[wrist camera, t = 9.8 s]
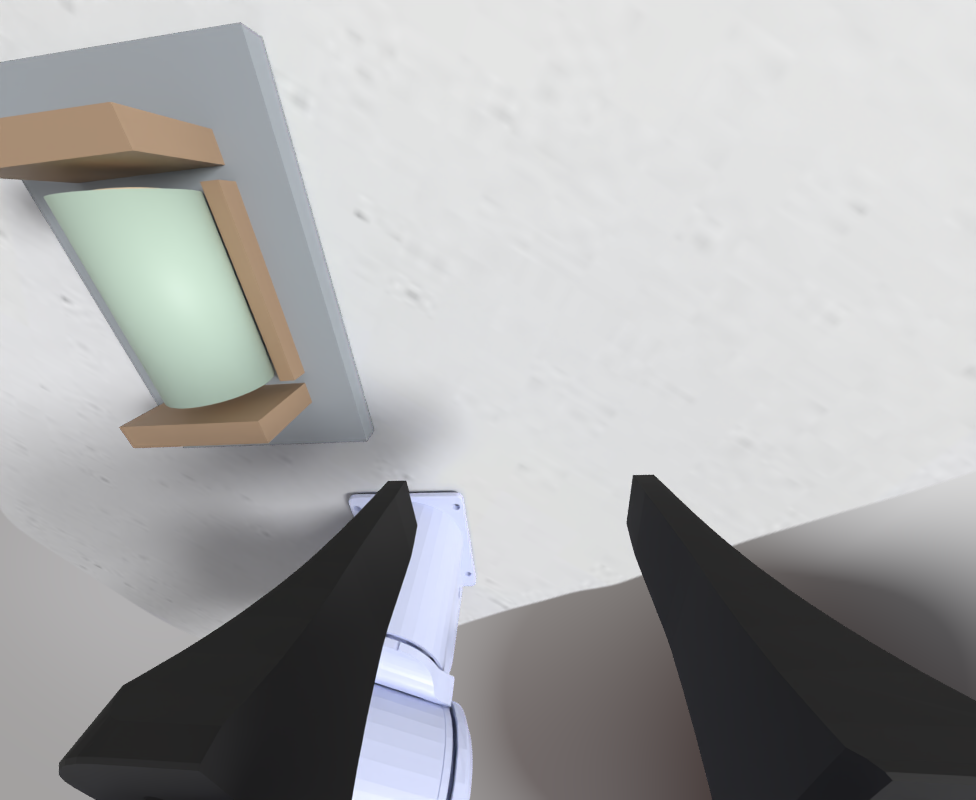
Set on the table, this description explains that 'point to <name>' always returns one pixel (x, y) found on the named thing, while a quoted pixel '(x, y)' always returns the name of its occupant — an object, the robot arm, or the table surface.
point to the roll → (168, 289)
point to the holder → (229, 196)
